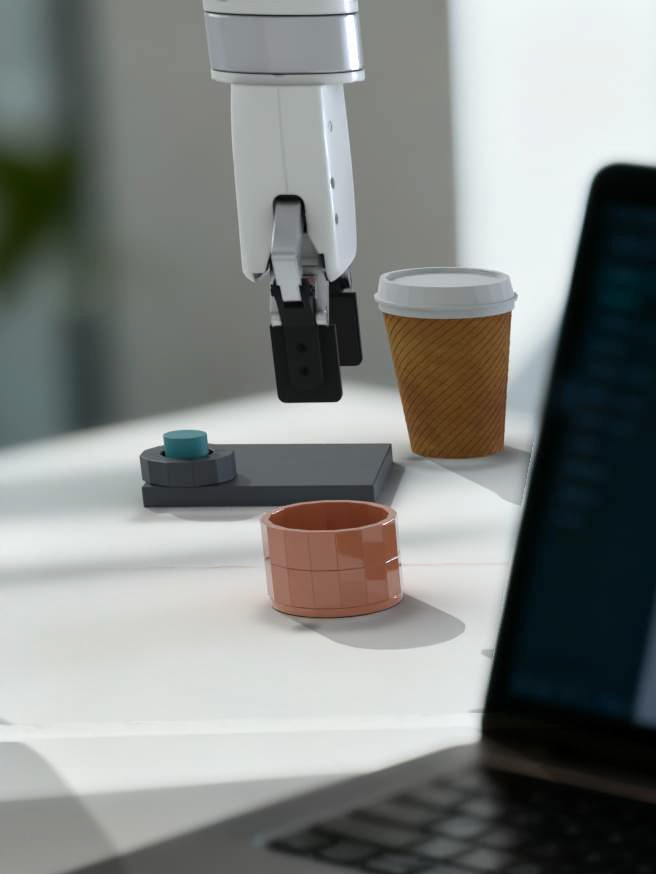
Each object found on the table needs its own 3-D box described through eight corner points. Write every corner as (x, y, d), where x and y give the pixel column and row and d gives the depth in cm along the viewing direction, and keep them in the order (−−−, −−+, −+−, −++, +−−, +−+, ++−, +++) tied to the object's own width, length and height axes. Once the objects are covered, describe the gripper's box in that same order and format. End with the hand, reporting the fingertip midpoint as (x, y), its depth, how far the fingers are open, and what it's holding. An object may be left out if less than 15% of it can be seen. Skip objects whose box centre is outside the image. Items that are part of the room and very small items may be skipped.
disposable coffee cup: (541, 460, 166) (530, 285, 161) (400, 469, 162) (385, 290, 157) (511, 431, 173) (500, 263, 169) (376, 439, 169) (361, 268, 165)
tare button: (162, 462, 150) (159, 438, 149) (169, 453, 152) (166, 429, 152) (205, 462, 150) (203, 438, 150) (212, 453, 153) (209, 429, 152)
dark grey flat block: (138, 509, 149) (132, 462, 148) (173, 464, 160) (168, 420, 159) (375, 507, 152) (370, 461, 151) (393, 463, 163) (389, 419, 162)
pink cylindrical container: (261, 618, 129) (252, 533, 128) (279, 582, 136) (270, 500, 134) (397, 616, 131) (389, 531, 129) (408, 580, 137) (401, 499, 135)
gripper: (235, 37, 129) (272, 353, 136) (179, 62, 114) (224, 418, 120) (379, 39, 131) (408, 352, 137) (342, 64, 115) (378, 415, 122)
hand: (322, 382), depth 129 cm, fingers open, 9 cm apart
